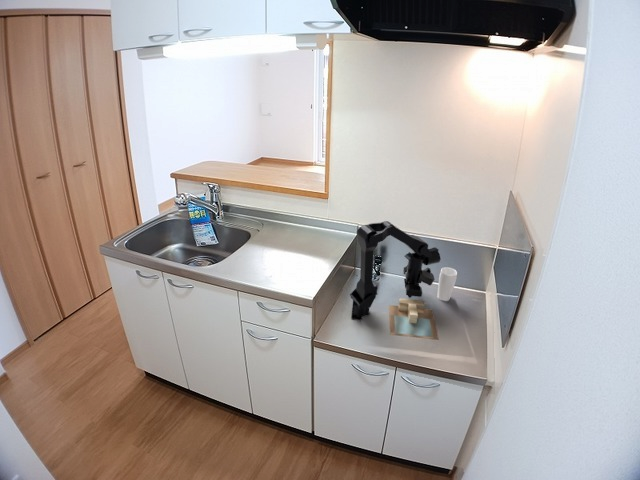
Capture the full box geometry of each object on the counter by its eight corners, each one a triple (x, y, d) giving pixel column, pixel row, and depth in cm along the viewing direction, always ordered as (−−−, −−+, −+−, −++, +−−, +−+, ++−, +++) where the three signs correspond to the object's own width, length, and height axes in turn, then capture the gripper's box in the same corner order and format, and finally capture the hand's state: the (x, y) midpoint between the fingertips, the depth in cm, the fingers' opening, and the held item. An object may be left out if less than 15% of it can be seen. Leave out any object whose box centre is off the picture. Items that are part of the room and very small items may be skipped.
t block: (398, 306, 152) (399, 298, 150) (422, 308, 150) (424, 300, 149) (399, 321, 143) (400, 313, 141) (425, 324, 142) (426, 316, 140)
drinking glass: (451, 305, 155) (458, 276, 148) (435, 303, 156) (441, 274, 149) (449, 296, 161) (456, 268, 154) (434, 294, 162) (440, 266, 155)
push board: (389, 337, 137) (390, 334, 136) (388, 307, 153) (388, 305, 152) (438, 342, 135) (438, 339, 134) (431, 312, 151) (432, 309, 150)
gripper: (438, 281, 139) (431, 312, 146) (431, 256, 155) (426, 286, 163) (408, 278, 140) (403, 310, 147) (405, 254, 157) (401, 284, 164)
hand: (409, 297), depth 155 cm, fingers closed
